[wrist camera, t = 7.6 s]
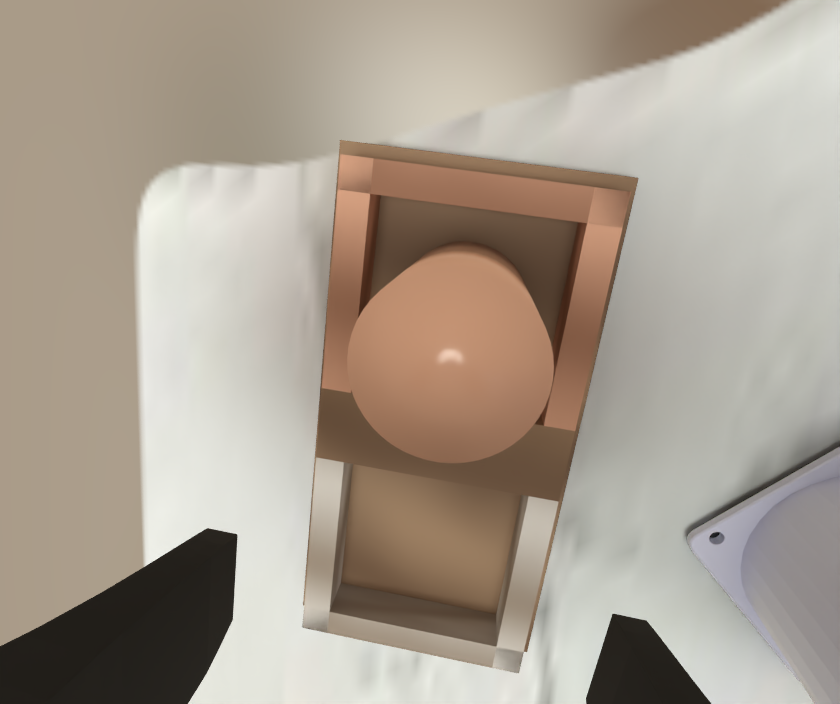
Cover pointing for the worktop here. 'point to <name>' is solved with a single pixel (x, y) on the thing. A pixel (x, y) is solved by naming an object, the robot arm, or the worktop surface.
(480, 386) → the tube
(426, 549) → the tray
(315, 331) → the worktop surface
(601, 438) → the worktop surface
